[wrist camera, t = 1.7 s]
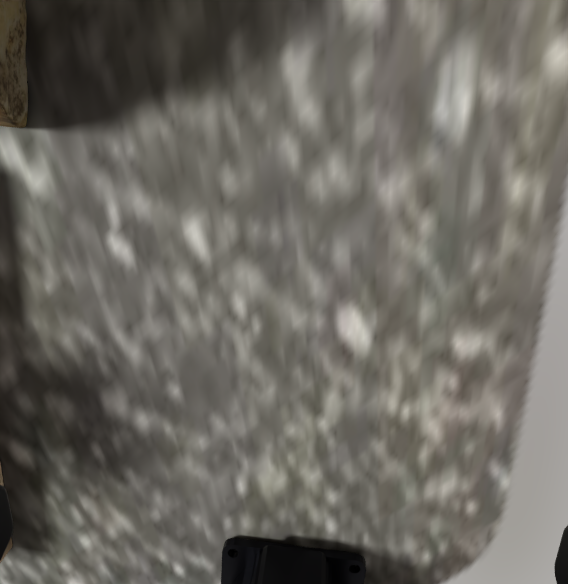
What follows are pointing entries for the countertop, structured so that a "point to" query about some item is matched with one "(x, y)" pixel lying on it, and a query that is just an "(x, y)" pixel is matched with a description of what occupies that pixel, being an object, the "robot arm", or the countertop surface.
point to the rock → (13, 64)
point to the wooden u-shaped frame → (0, 482)
